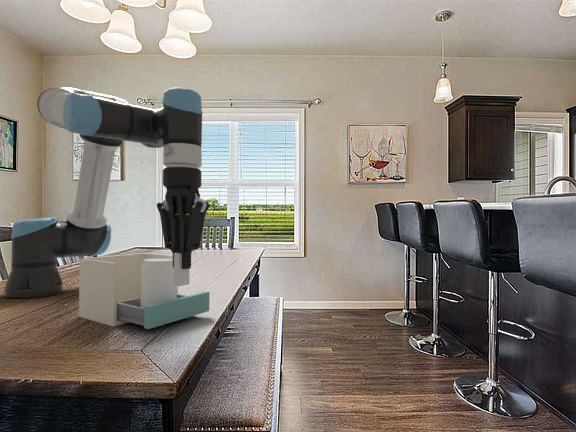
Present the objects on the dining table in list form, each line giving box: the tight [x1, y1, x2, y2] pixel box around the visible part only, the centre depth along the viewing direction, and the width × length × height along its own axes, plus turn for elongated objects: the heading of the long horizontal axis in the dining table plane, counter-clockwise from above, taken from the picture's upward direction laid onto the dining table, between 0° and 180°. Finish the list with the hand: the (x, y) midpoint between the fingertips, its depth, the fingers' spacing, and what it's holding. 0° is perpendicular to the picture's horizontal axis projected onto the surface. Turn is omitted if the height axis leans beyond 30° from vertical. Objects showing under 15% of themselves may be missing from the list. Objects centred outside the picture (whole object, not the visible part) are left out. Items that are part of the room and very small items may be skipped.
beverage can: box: [141, 258, 177, 308], centre depth 88 cm, size 8×8×12 cm
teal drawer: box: [117, 291, 210, 330], centre depth 87 cm, size 14×18×5 cm
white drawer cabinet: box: [78, 252, 179, 327], centre depth 93 cm, size 14×18×14 cm
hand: (181, 284), depth 74 cm, fingers closed
